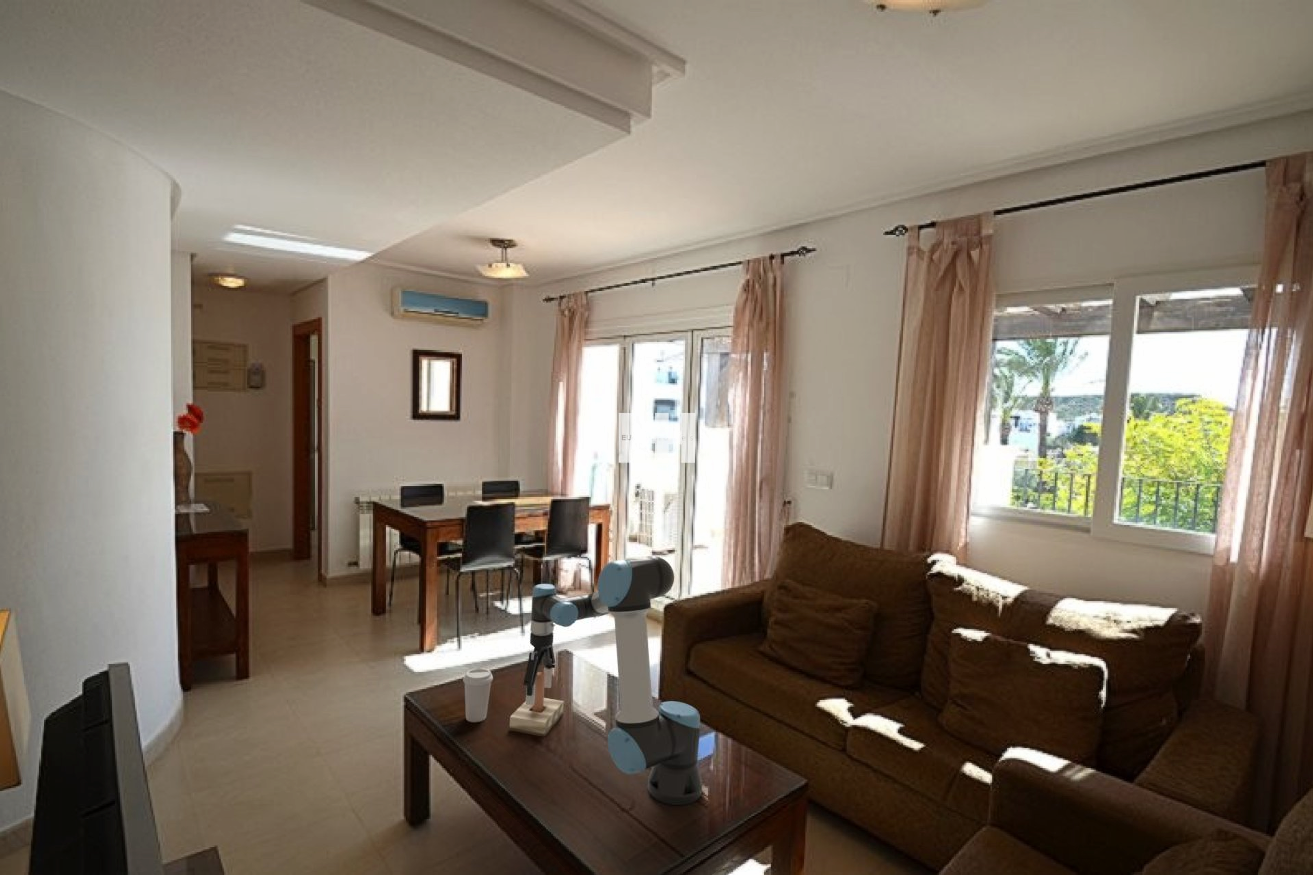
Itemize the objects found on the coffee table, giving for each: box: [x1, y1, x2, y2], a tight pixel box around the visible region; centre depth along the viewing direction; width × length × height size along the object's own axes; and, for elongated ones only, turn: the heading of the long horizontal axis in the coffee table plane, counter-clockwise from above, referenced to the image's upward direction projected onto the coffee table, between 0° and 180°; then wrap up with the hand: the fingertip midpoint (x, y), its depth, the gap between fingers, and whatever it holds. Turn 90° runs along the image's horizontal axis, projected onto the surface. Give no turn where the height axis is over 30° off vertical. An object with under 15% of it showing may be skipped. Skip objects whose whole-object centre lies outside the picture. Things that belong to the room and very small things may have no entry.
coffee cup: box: [462, 667, 494, 723], centre depth 208 cm, size 10×10×15 cm
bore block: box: [509, 697, 565, 738], centre depth 207 cm, size 16×12×4 cm
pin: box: [532, 671, 545, 713], centre depth 207 cm, size 4×4×15 cm
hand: (538, 695), depth 207 cm, fingers open, 13 cm apart
